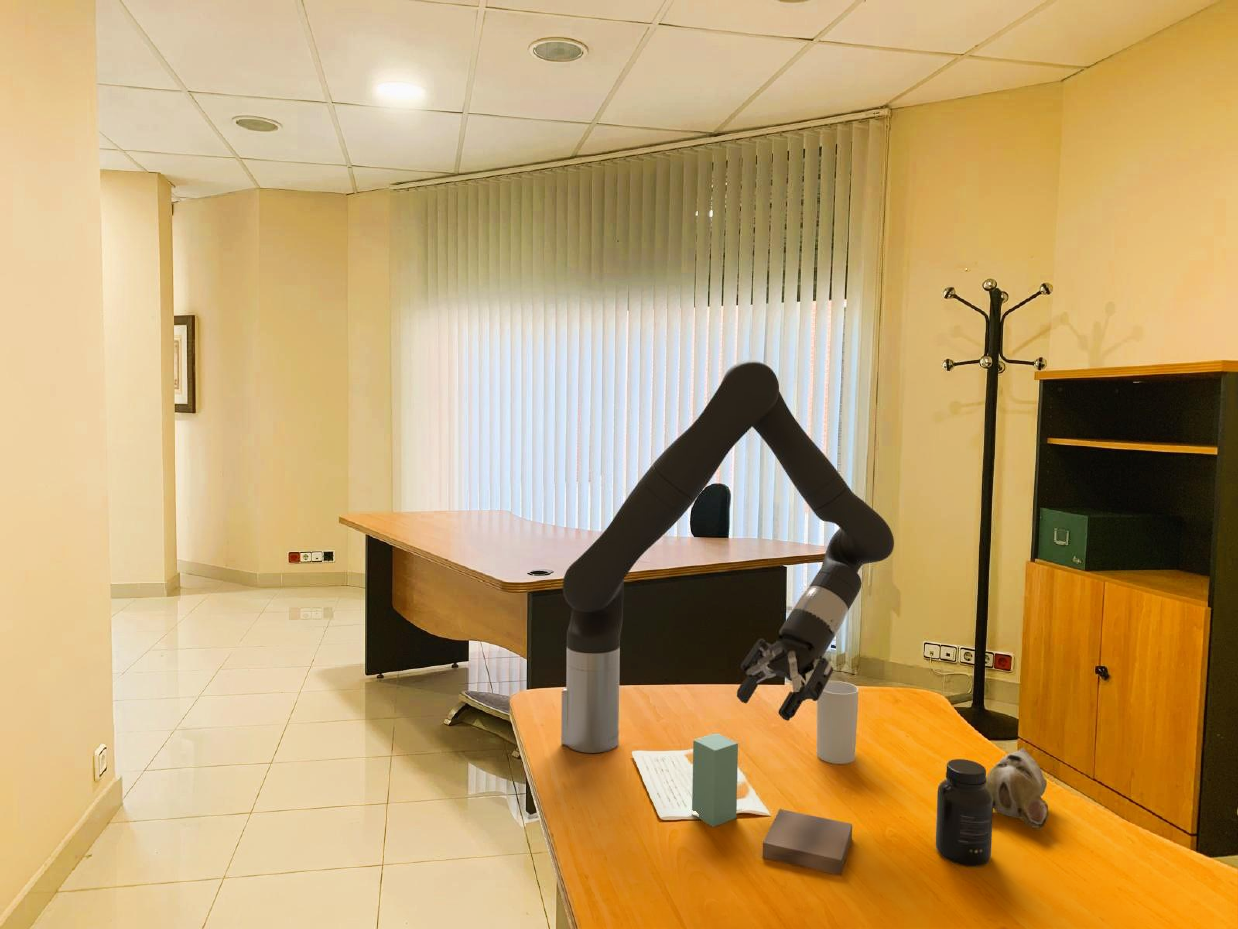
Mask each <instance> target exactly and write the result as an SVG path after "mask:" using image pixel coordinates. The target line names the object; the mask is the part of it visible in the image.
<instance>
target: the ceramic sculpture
mask: <svg viewBox="0 0 1238 929" xmlns="http://www.w3.org/2000/svg"><path fill="white" fill-rule="evenodd" d="M986 779H987V782H986V785H985V786H986V787H987V788H988V789H989V790H990V792H991V793H992V795H993V810H994V811H996V812H997V813H998V814H1002V815H1004V816H1007V817H1011V818H1017V819H1021V820H1022V821H1023V823H1025V824H1026V825H1027V826H1029V827H1030V828H1033V829H1034V830H1035V829H1036V830H1038V829H1040V828H1042V827H1044V826H1045V824H1046V822H1047V820H1048V816H1049V814H1050V813H1049V805H1048V803H1047V802H1046V800H1044V799H1043V798H1042V796H1043V795H1045V792H1046V789H1047V786H1048V782H1047V780H1046V778H1045V776H1044V774H1043V771H1042V769H1041V768H1040V767H1039V765H1038V763H1036V761H1035V759H1034V758H1033V757H1032V756H1031V755H1030V754H1029V753H1028V752H1027V750H1026V749H1025V748H1024V747H1022V748H1020V749H1018V750H1016V751H1014V752H1011V753H1008V754H1007V755H1005V756H1003V757H1002V758H1001V759H1000V760H999V762H998V763H996V764H995V765H994V766H993V767H992V768H991V769H990V770H989V771H988V774H986Z"/></svg>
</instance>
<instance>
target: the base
mask: <svg viewBox="0 0 1238 929" xmlns="http://www.w3.org/2000/svg"><path fill="white" fill-rule="evenodd" d="M852 840H853V823H849V822H845V821H839V820H835V819H831V818H826V817H820V816H815V815H811V814H805V813H801V812H798V811H797V812H796V811H791V810H787V809H781V808H779V810H778V812H777V814H776V815H775V818H774V820H773V822H772V824H771V826H770V828H769V829H768V832H767V833H766V835H765V838H764V840H763V842H762V858H764V859H768V860H772V861H776V862H781V863H785V864H790V865H792V866H793V865H794V866H799V867H803V868H807V869H811V870H815V871H816V870H817V871H820V872H824V873H829V874H833V875H837V876H842V873H843V870H844V867H845V866H844V865H845V863H846V860H847V855H848V852H849V849H850V847H851V843H852V842H851V841H852Z"/></svg>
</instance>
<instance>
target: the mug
mask: <svg viewBox="0 0 1238 929" xmlns="http://www.w3.org/2000/svg"><path fill="white" fill-rule="evenodd" d="M858 706H859V687H858V686H857V685H855V684H852V683H850V682H846V681H839V680H828V682H827V684H826V686H825V688H824V690H823V692H822V694H821V696H820V697H819V699H818V700H817V701H816V756H817V757H818V759H820V760H822V761H824V762H825V763H830V764H834V765H835V764H836V765H846V764H847V765H848V764H850V763H852V762H854V761H855V759H856V746H857V727H858V726H857V725H858V713H859V712H858V711H859V709H858V708H859V707H858Z"/></svg>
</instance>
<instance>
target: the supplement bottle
mask: <svg viewBox="0 0 1238 929" xmlns="http://www.w3.org/2000/svg"><path fill="white" fill-rule="evenodd" d="M986 777H987V769H986V767H985V766H983V765H982V763H979V762H976V761H974V760H970V759H964V758H963V759H962V758H955V759H951V760H949V761H947V763H946V771H945V779H944V780H942V781H941V782H940V784H938V787H937V795H936V796H937V799H936V800H937V801H936V820H935V822H936V826H935V827H936V828H935V847H936V850H937V852H938V853H939V855H941V856H942V858H944V859H945V860H947V861H949V862H951V863H952V864H956V865H959V866H960V865H961V866H964V867H980V866H983V865H984V866H985V865H986V864H987V863H988V862H989V861H990V859H991V856H992V842H993V841H992V840H993V839H992V838H993V821H994V820H993V816H994V808H993V795H992V793H991V792H990V790H989V789H988V788H987V787H986V786H985V785H986V782H987V779H986Z"/></svg>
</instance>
